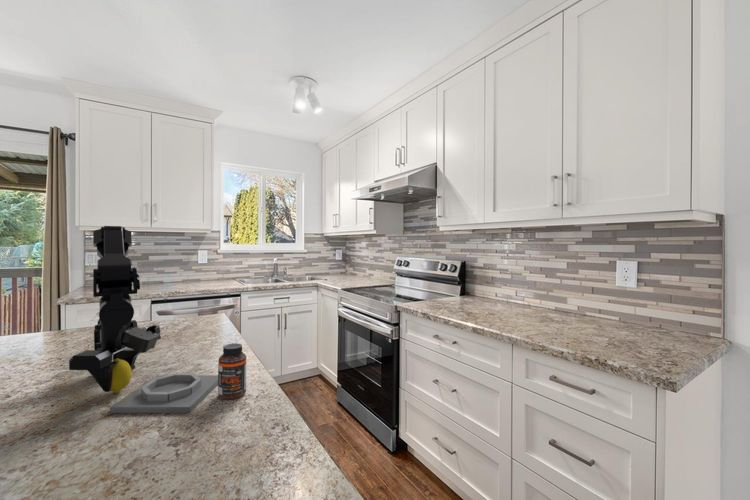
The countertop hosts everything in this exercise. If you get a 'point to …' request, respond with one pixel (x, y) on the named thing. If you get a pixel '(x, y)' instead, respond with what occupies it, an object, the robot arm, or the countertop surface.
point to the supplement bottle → (232, 372)
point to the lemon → (120, 375)
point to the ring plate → (168, 394)
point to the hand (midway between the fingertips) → (116, 385)
